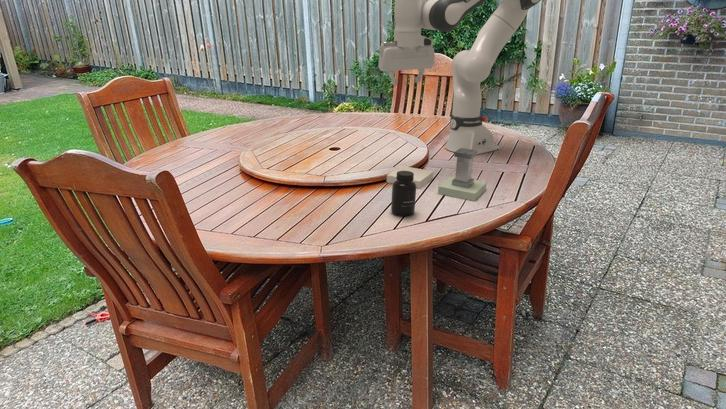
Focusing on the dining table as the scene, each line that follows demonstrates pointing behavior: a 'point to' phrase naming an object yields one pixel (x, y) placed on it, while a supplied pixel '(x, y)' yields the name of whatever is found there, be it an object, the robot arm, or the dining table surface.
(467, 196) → the stand
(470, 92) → the robot arm
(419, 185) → the stand
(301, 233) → the dining table surface
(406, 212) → the supplement bottle
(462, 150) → the post
